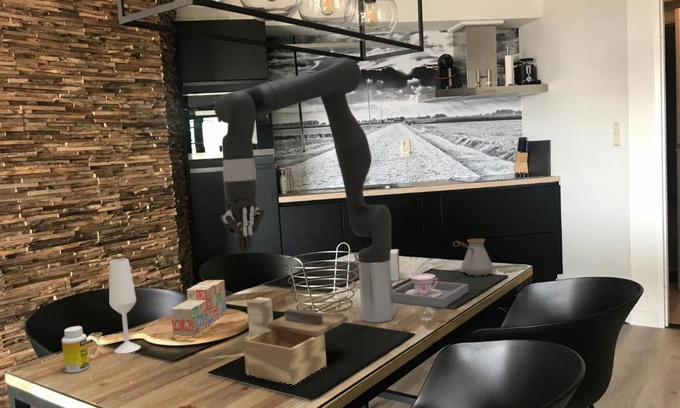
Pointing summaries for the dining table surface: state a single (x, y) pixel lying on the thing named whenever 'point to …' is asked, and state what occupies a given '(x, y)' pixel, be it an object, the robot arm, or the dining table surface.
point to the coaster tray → (447, 297)
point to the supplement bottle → (75, 350)
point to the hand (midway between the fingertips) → (245, 251)
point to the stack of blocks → (200, 308)
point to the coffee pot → (476, 258)
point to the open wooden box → (284, 355)
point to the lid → (307, 322)
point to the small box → (394, 264)
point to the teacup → (424, 285)
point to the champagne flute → (122, 297)
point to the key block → (259, 315)
